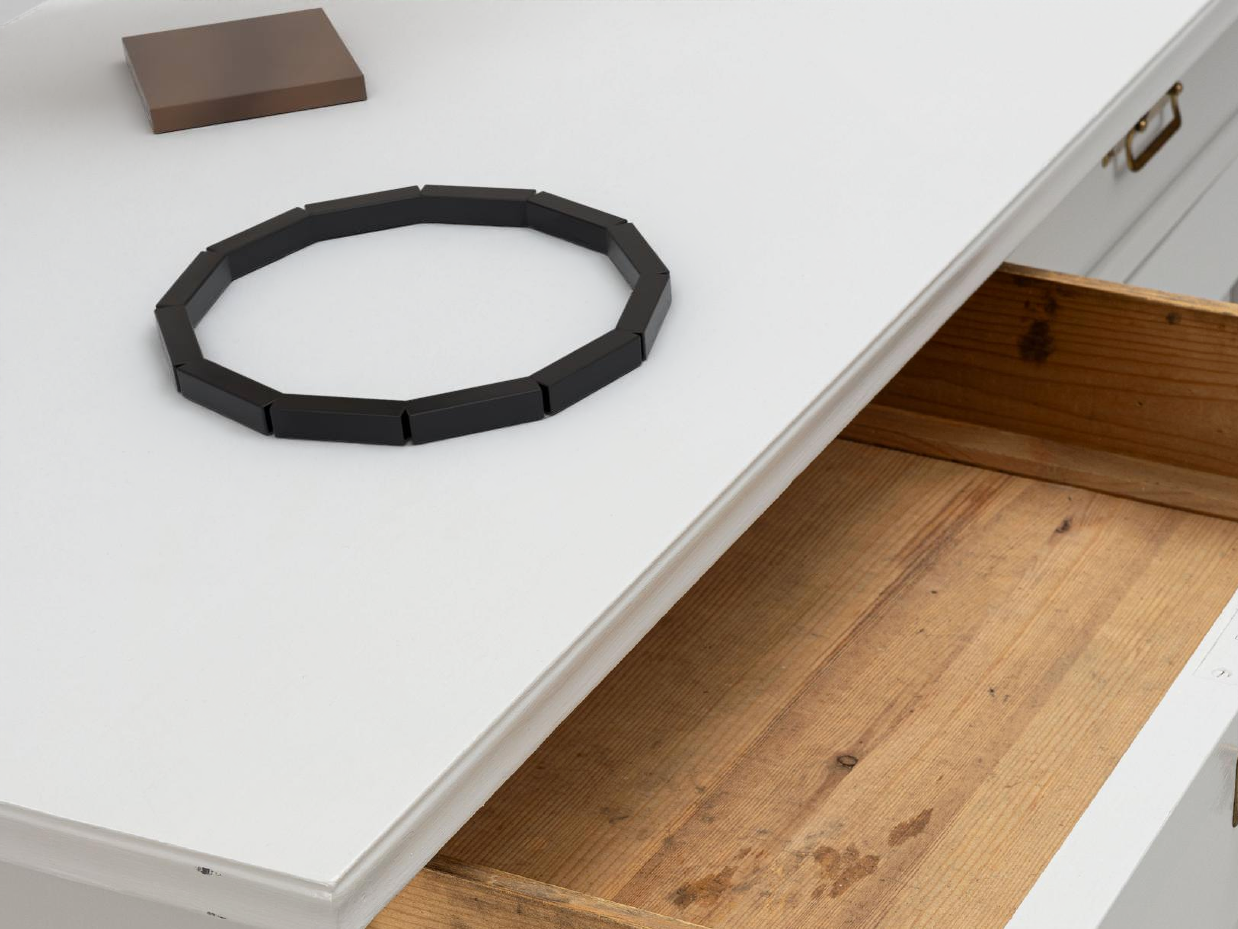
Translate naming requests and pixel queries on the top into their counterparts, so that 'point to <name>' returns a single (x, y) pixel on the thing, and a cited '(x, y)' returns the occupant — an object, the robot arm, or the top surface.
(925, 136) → the top surface
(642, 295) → the burner ring
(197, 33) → the walnut board
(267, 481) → the top surface
